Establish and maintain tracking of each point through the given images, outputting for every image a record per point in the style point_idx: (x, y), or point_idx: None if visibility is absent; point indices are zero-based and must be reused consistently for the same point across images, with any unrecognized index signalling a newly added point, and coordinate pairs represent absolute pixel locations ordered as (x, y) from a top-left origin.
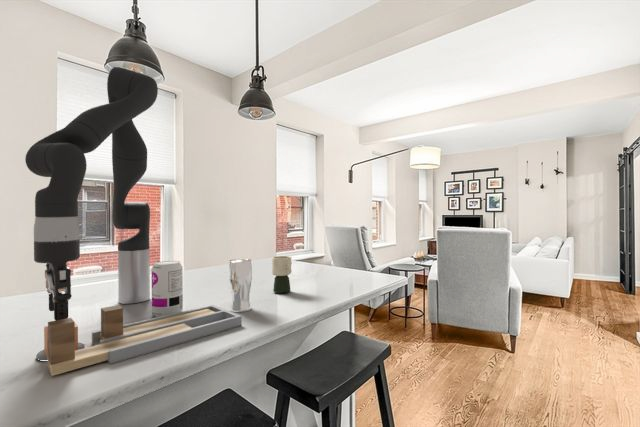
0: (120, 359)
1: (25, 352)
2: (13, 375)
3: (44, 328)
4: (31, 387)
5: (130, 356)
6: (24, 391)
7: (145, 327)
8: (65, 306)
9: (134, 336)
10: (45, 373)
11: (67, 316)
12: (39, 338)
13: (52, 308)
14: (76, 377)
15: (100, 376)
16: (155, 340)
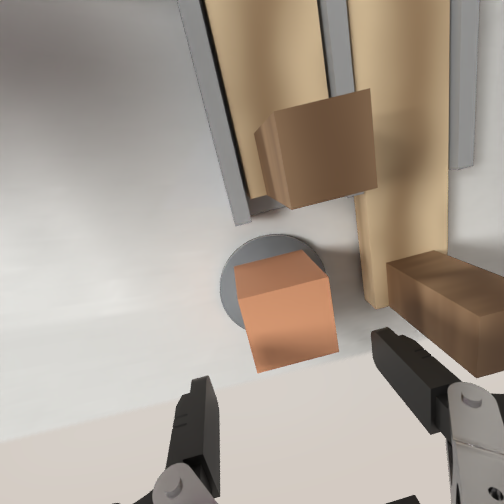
0: None
1: (214, 359)
2: (352, 346)
3: (267, 368)
4: None
5: None
6: None
7: (276, 16)
8: (447, 370)
9: (364, 78)
10: None
11: (389, 331)
12: (103, 356)
13: (215, 407)
14: (456, 234)
15: (491, 186)
16: (474, 2)
